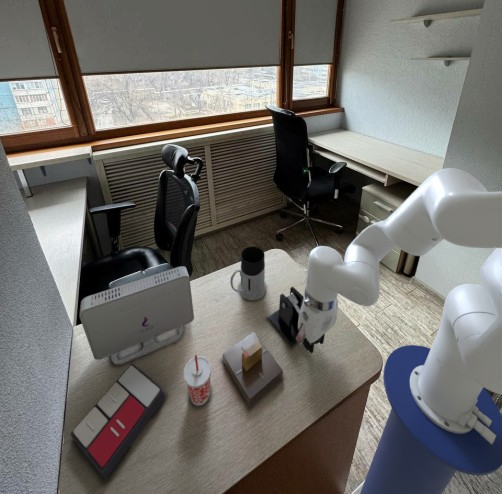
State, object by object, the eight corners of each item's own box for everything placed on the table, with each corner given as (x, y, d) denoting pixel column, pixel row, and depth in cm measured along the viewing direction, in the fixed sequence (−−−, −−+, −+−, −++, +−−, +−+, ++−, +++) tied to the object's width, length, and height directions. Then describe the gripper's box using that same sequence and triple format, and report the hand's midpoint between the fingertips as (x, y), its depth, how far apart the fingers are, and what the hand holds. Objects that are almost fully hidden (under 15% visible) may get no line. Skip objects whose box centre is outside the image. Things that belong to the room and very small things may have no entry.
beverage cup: (182, 406, 61) (176, 368, 56) (192, 376, 67) (187, 339, 61) (208, 412, 60) (204, 374, 55) (216, 381, 66) (213, 344, 60)
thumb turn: (257, 352, 69) (257, 340, 67) (261, 358, 68) (262, 346, 66) (241, 365, 66) (241, 352, 65) (245, 371, 65) (245, 359, 63)
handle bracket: (311, 330, 78) (315, 301, 73) (291, 347, 73) (294, 317, 69) (287, 305, 85) (289, 277, 81) (268, 319, 81) (269, 290, 76)
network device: (96, 375, 67) (76, 320, 59) (98, 343, 74) (80, 290, 66) (196, 331, 77) (191, 280, 69) (189, 307, 84) (183, 258, 77)
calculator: (68, 432, 54) (131, 360, 66) (74, 441, 56) (134, 370, 68) (100, 472, 49) (162, 387, 61) (106, 481, 51) (165, 397, 63)
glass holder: (270, 288, 91) (272, 253, 85) (242, 317, 81) (241, 280, 76) (251, 274, 97) (251, 241, 91) (222, 300, 87) (220, 265, 81)
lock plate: (282, 377, 67) (283, 369, 65) (249, 407, 61) (249, 399, 60) (253, 338, 76) (253, 330, 74) (222, 361, 70) (222, 353, 69)
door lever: (320, 340, 71) (325, 337, 69) (311, 348, 70) (317, 345, 68) (290, 295, 78) (294, 291, 76) (282, 300, 76) (286, 296, 74)
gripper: (308, 325, 57) (301, 377, 64) (354, 288, 66) (343, 337, 73) (284, 300, 63) (280, 350, 70) (329, 269, 72) (322, 316, 79)
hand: (313, 343), depth 72 cm, fingers closed on door lever, 3 cm apart
